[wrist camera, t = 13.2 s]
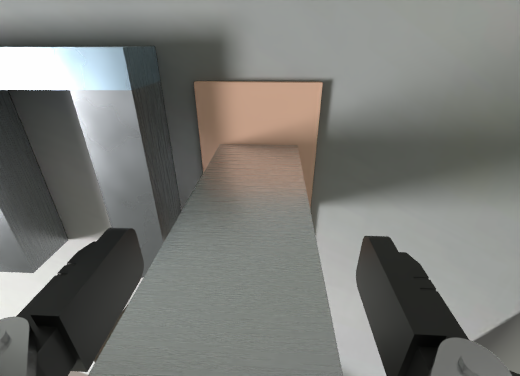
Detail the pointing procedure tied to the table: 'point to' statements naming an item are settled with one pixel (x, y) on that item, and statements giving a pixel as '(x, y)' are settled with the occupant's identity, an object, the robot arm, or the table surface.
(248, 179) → the steel bar
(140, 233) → the vise
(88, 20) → the table surface
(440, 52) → the table surface
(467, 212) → the table surface
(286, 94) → the mat
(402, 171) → the table surface
